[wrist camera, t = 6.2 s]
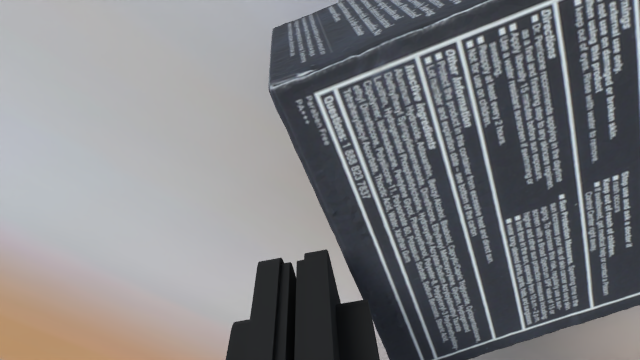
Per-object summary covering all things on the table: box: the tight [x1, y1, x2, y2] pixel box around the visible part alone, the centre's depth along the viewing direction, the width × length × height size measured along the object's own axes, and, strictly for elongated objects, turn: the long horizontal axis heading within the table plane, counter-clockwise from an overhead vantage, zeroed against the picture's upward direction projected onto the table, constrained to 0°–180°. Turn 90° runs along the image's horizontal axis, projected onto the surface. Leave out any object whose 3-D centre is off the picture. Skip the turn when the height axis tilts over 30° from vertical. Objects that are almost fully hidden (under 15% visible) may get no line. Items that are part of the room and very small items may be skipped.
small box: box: [269, 0, 640, 360], centre depth 14 cm, size 11×6×10 cm
